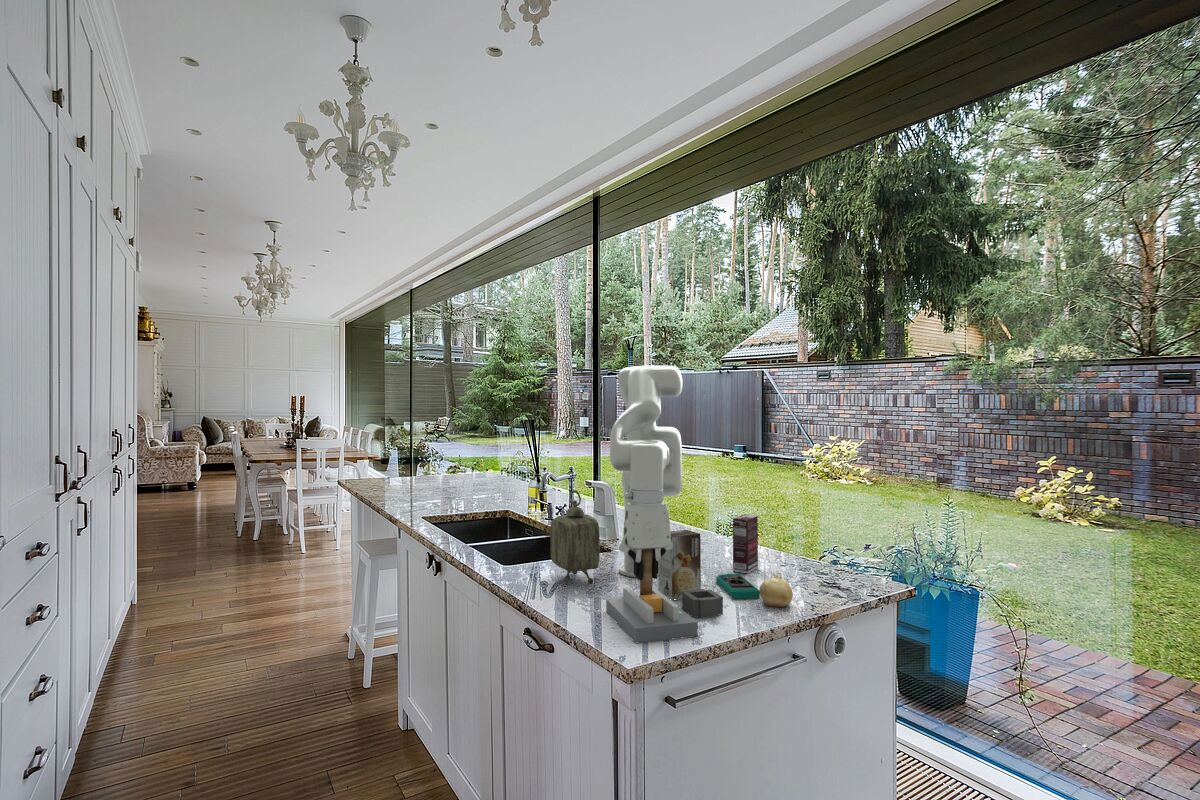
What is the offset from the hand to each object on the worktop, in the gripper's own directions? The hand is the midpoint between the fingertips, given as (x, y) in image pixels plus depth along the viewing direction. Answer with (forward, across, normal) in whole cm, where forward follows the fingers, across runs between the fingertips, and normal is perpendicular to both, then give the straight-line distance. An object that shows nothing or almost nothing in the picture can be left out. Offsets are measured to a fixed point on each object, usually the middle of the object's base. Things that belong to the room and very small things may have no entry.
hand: (646, 577), depth 140 cm
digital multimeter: (+10, +32, +15) cm, 36 cm away
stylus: (+6, 0, 0) cm, 6 cm away
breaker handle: (+6, 0, -3) cm, 7 cm away
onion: (+10, +35, +2) cm, 36 cm away
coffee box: (+10, +15, +15) cm, 23 cm away
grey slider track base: (+10, 0, -2) cm, 10 cm away
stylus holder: (+10, +15, +2) cm, 18 cm away
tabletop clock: (+10, -8, +35) cm, 37 cm away
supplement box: (+10, +44, +32) cm, 55 cm away
